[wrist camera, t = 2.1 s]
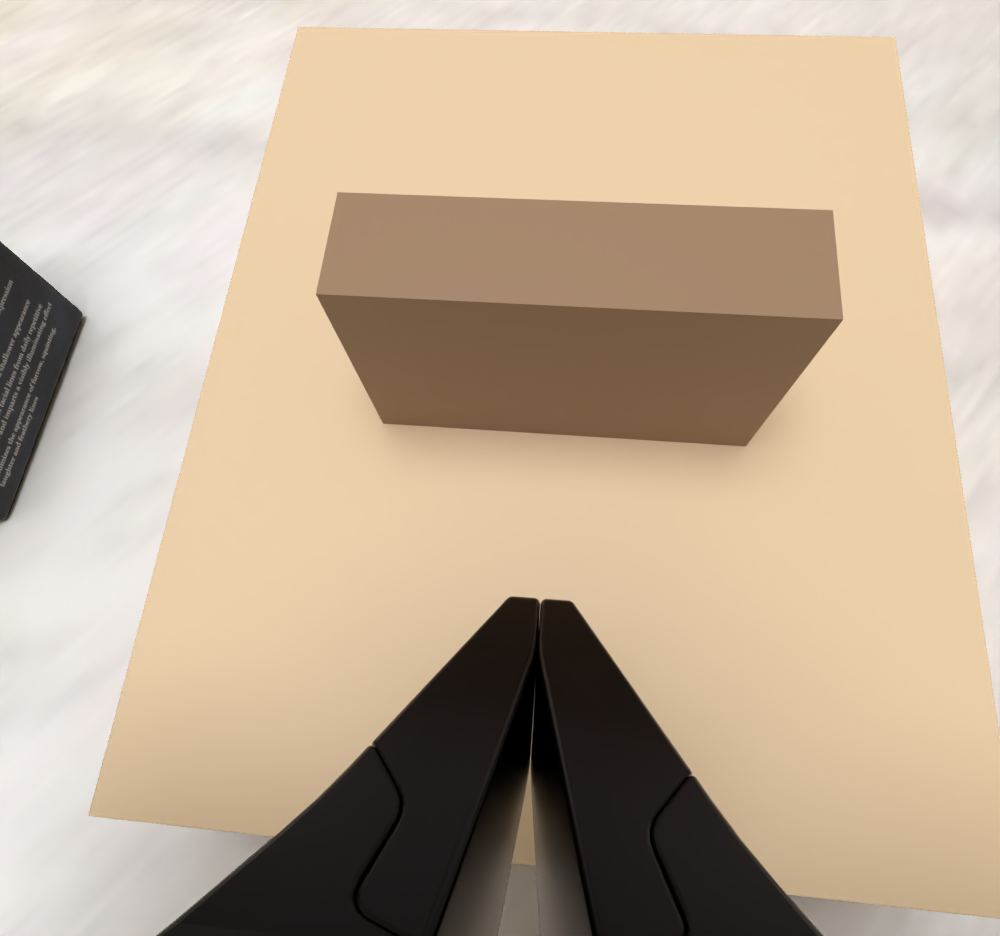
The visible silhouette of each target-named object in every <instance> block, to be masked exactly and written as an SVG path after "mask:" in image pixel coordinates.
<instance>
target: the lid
mask: <svg viewBox="0 0 1000 936" xmlns="http://www.w3.org/2000/svg"><path fill="white" fill-rule="evenodd" d="M511 596H516V597H529V598H537V599H538V600H539V602H540V604H541V602H542V600H544V599H556V600H569V601H571V602H573V603H574V604H575V606H576V607H577V609H578V610H579V611H580V613H581V614H582V616H583V617H584V619H585V620H586V621H587V623H588V624H589V626H590V627H591V629H592V630H593V631H594V633H595V634H596V636H597V637H598V638H599V640H600V641H601V643H602V644H603V646H604V647H605V648H606V650H607V651H608V653H609V654H610V656H611V657H612V658H613V660H614V661H615V663H616V664H617V666H618V667H619V668H620V670H621V671H622V673H623V674H624V676H625V677H626V678H627V680H628V681H629V683H630V684H631V686H632V687H633V688H634V690H635V691H636V693H637V694H638V696H639V697H640V698H641V700H642V701H643V703H644V704H645V706H646V707H647V708H648V710H649V711H650V713H651V714H652V716H653V717H654V718H655V720H656V721H657V723H658V724H659V726H660V727H661V728H662V730H663V731H664V733H665V734H666V736H667V737H668V738H669V740H670V741H671V743H672V744H673V746H674V747H675V748H676V750H677V751H678V753H679V754H680V756H681V757H682V758H683V760H684V761H685V763H686V764H687V766H688V767H689V768H690V770H691V772H692V776H695V777H696V778H697V779H698V781H699V782H700V784H701V785H702V787H703V788H704V790H705V791H706V792H707V794H708V795H709V797H710V798H711V800H712V801H713V802H714V804H715V805H716V806H717V808H718V809H719V810H720V812H721V813H722V815H723V816H724V817H725V819H726V820H727V821H728V823H729V824H730V825H731V827H732V828H733V829H734V831H735V832H736V833H737V835H738V836H739V837H740V839H741V840H742V841H743V842H744V844H745V845H746V846H747V847H748V848H749V850H750V851H751V852H752V853H753V854H754V856H755V857H756V858H757V859H758V860H759V862H760V863H761V864H762V865H763V867H764V868H765V869H766V870H767V871H768V873H769V874H770V875H771V876H772V877H773V879H774V880H775V881H776V882H777V883H778V885H779V886H780V887H781V888H782V889H783V890H784V891H785V893H786V894H787V895H795V896H804V897H812V898H821V899H830V900H839V901H848V902H857V903H866V904H875V905H883V906H892V907H901V908H910V909H919V910H928V911H937V912H946V913H954V914H963V915H972V916H981V917H990V918H999V919H1000V735H999V728H998V721H997V714H996V708H995V701H994V694H993V688H992V681H991V674H990V668H989V661H988V654H987V648H986V641H985V634H984V628H983V621H982V614H981V607H980V601H979V594H978V587H977V581H976V574H975V567H974V561H973V554H972V547H971V541H970V534H969V527H968V521H967V514H966V507H965V501H964V494H963V487H962V480H961V474H960V467H959V460H958V454H957V447H956V440H955V434H954V427H953V420H952V414H951V407H950V400H949V394H948V387H947V380H946V373H945V367H944V360H943V353H942V347H941V340H940V333H939V327H938V320H937V313H936V307H935V300H934V293H933V287H932V280H931V273H930V266H929V260H928V253H927V246H926V240H925V233H924V226H923V220H922V213H921V206H920V200H919V193H918V186H917V180H916V173H915V166H914V159H913V153H912V146H911V139H910V133H909V126H908V119H907V113H906V106H905V99H904V93H903V86H902V79H901V73H900V66H899V59H898V52H897V46H896V39H895V37H855V36H796V35H737V34H678V33H619V32H561V31H502V30H443V29H384V28H325V27H298V30H297V34H296V38H295V41H294V45H293V49H292V53H291V56H290V60H289V64H288V68H287V71H286V75H285V79H284V83H283V86H282V90H281V94H280V98H279V101H278V105H277V109H276V113H275V116H274V120H273V124H272V128H271V132H270V135H269V139H268V143H267V147H266V150H265V154H264V158H263V162H262V165H261V169H260V173H259V177H258V180H257V184H256V188H255V192H254V195H253V199H252V203H251V207H250V210H249V214H248V218H247V222H246V226H245V229H244V233H243V237H242V241H241V244H240V248H239V252H238V256H237V259H236V263H235V267H234V271H233V274H232V278H231V282H230V286H229V289H228V293H227V297H226V301H225V304H224V308H223V312H222V316H221V320H220V323H219V327H218V331H217V335H216V338H215V342H214V346H213V350H212V353H211V357H210V361H209V365H208V368H207V372H206V376H205V380H204V383H203V387H202V391H201V395H200V398H199V402H198V406H197V410H196V414H195V417H194V421H193V425H192V429H191V432H190V436H189V440H188V444H187V447H186V451H185V455H184V459H183V462H182V466H181V470H180V474H179V477H178V481H177V485H176V489H175V492H174V496H173V500H172V504H171V508H170V511H169V515H168V519H167V523H166V526H165V530H164V534H163V538H162V541H161V545H160V549H159V553H158V556H157V560H156V564H155V568H154V571H153V575H152V579H151V583H150V586H149V590H148V594H147V598H146V602H145V605H144V609H143V613H142V617H141V620H140V624H139V628H138V632H137V635H136V639H135V643H134V647H133V650H132V654H131V658H130V662H129V665H128V669H127V673H126V677H125V680H124V684H123V688H122V692H121V696H120V699H119V703H118V707H117V711H116V714H115V718H114V722H113V726H112V729H111V733H110V737H109V741H108V744H107V748H106V752H105V756H104V759H103V763H102V767H101V771H100V774H99V778H98V782H97V786H96V790H95V793H94V797H93V801H92V805H91V808H90V812H89V816H94V817H103V818H111V819H120V820H129V821H138V822H147V823H156V824H165V825H174V826H182V827H191V828H200V829H209V830H218V831H227V832H236V833H245V834H253V835H262V836H271V837H274V836H275V835H277V834H278V833H279V832H280V831H281V830H282V829H283V828H284V827H286V826H287V825H288V824H289V823H290V822H291V821H292V820H293V819H295V818H296V817H297V816H298V815H299V814H300V813H301V812H302V811H303V810H305V809H306V808H307V807H308V806H309V805H310V804H311V803H312V802H314V801H315V800H316V799H317V798H318V797H319V796H320V795H321V794H322V793H323V792H324V791H325V790H326V789H327V788H328V787H329V786H330V785H331V784H332V783H333V782H334V781H335V780H336V779H337V778H338V777H339V776H340V775H341V774H342V773H343V772H344V771H345V770H346V769H347V768H348V767H349V766H350V765H351V764H352V763H353V762H354V761H355V760H356V759H357V757H358V756H359V755H360V754H361V753H362V752H363V751H364V750H365V749H366V748H367V747H368V746H372V742H373V741H374V740H375V739H376V738H377V737H378V736H379V734H380V733H381V732H382V731H383V730H384V729H385V728H386V727H387V726H388V725H389V724H390V723H391V722H392V721H393V720H394V718H395V717H396V716H397V715H398V714H399V713H400V712H401V711H402V710H403V709H404V708H405V707H406V706H407V705H408V704H409V703H410V701H411V700H412V699H413V698H414V697H415V696H416V695H417V694H418V693H419V692H420V691H421V690H422V689H423V688H424V687H425V685H426V684H427V683H428V682H429V681H430V680H431V679H432V678H433V677H434V676H435V675H436V674H437V673H438V672H439V671H440V669H441V668H442V667H443V666H444V665H445V664H446V663H447V662H448V661H449V660H450V659H451V658H452V657H453V656H454V655H455V654H456V652H457V651H458V650H459V649H460V648H461V647H462V646H463V645H464V644H465V643H466V642H467V641H468V640H469V639H470V638H471V636H472V635H473V634H474V633H475V632H476V631H477V630H478V629H479V628H480V627H481V626H482V625H483V624H484V623H485V622H486V621H487V619H488V618H489V617H490V616H491V615H492V614H493V613H494V612H495V611H496V610H497V609H498V608H499V607H500V606H501V605H502V603H503V602H504V601H505V600H506V599H507V598H509V597H511ZM539 618H540V615H539ZM534 697H535V696H534ZM533 714H534V711H533ZM532 731H533V727H532ZM531 748H532V742H531ZM512 864H520V865H529V866H536V861H535V844H534V828H533V812H532V796H531V756H530V766H529V774H528V781H527V787H526V792H525V797H524V803H523V808H522V813H521V818H520V823H519V828H518V833H517V838H516V844H515V849H514V854H513V859H512Z"/></svg>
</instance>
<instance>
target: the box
mask: <svg viewBox="0 0 1000 936" xmlns="http://www.w3.org/2000/svg"><path fill="white" fill-rule="evenodd" d="M81 317H82V312H81V311H80V310H79V309H78V308H77V307H75V306H74V305H73V304H72V303H71V302H70V301H68V300H67V299H66V298H65V297H64V296H62V295H61V294H60V293H59V292H58V291H57V290H56V289H55V288H54V287H53V286H51V285H50V284H49V283H48V282H47V281H46V280H44V279H43V278H42V277H41V276H40V275H38V274H37V273H36V272H35V271H33V270H32V269H31V268H30V267H29V266H28V265H27V264H26V263H25V262H23V261H22V260H21V259H20V258H19V257H18V256H17V255H15V254H14V253H13V252H12V251H11V250H10V249H8V248H7V247H6V246H5V245H4V244H2V243H1V242H0V520H3V519H5V518H6V517H7V515H8V513H9V511H10V508H11V506H12V502H13V499H14V497H15V494H16V491H17V489H18V486H19V483H20V480H21V477H22V475H23V472H24V470H25V467H26V464H27V462H28V459H29V457H30V454H31V451H32V448H33V446H34V443H35V440H36V437H37V435H38V432H39V429H40V427H41V424H42V421H43V419H44V416H45V413H46V410H47V408H48V405H49V403H50V400H51V397H52V395H53V392H54V389H55V387H56V384H57V381H58V379H59V376H60V373H61V371H62V368H63V365H64V362H65V360H66V357H67V354H68V352H69V349H70V346H71V343H72V341H73V338H74V336H75V333H76V331H77V328H78V325H79V323H80V320H81Z"/></svg>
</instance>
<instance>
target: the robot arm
mask: <svg viewBox="0 0 1000 936" xmlns="http://www.w3.org/2000/svg"><path fill="white" fill-rule="evenodd" d="M539 615H540V618H539ZM534 696H535V697H534ZM533 711H534V714H533ZM532 727H533V731H532ZM531 742H532V748H531ZM530 756H531V796H532V812H533V828H534V844H535V861H536V877H537V893H538V909H539V925H540V936H823V935H822V934H821V933H820V932H819V930H818V929H817V928H816V927H815V926H814V925H813V924H812V922H811V921H810V920H809V919H808V918H807V917H806V916H805V914H804V913H803V912H802V911H801V910H800V909H799V908H798V906H797V905H796V904H795V903H794V902H793V901H792V899H791V898H790V897H789V896H788V895H787V894H786V893H785V891H784V890H783V889H782V888H781V887H780V886H779V885H778V883H777V882H776V881H775V880H774V879H773V877H772V876H771V875H770V874H769V873H768V871H767V870H766V869H765V868H764V867H763V865H762V864H761V863H760V862H759V860H758V859H757V858H756V857H755V856H754V854H753V853H752V852H751V851H750V850H749V848H748V847H747V846H746V845H745V844H744V842H743V841H742V840H741V839H740V837H739V836H738V835H737V833H736V832H735V831H734V829H733V828H732V827H731V825H730V824H729V823H728V821H727V820H726V819H725V817H724V816H723V815H722V813H721V812H720V810H719V809H718V808H717V806H716V805H715V804H714V802H713V801H712V800H711V798H710V797H709V795H708V794H707V792H706V791H705V790H704V788H703V787H702V785H701V784H700V782H699V781H698V779H697V778H696V777H695V776H692V772H691V770H690V768H689V767H688V766H687V764H686V763H685V761H684V760H683V758H682V757H681V756H680V754H679V753H678V751H677V750H676V748H675V747H674V746H673V744H672V743H671V741H670V740H669V738H668V737H667V736H666V734H665V733H664V731H663V730H662V728H661V727H660V726H659V724H658V723H657V721H656V720H655V718H654V717H653V716H652V714H651V713H650V711H649V710H648V708H647V707H646V706H645V704H644V703H643V701H642V700H641V698H640V697H639V696H638V694H637V693H636V691H635V690H634V688H633V687H632V686H631V684H630V683H629V681H628V680H627V678H626V677H625V676H624V674H623V673H622V671H621V670H620V668H619V667H618V666H617V664H616V663H615V661H614V660H613V658H612V657H611V656H610V654H609V653H608V651H607V650H606V648H605V647H604V646H603V644H602V643H601V641H600V640H599V638H598V637H597V636H596V634H595V633H594V631H593V630H592V629H591V627H590V626H589V624H588V623H587V621H586V620H585V619H584V617H583V616H582V614H581V613H580V611H579V610H578V609H577V607H576V606H575V604H574V603H573V602H571V601H569V600H556V599H544V600H542V602H541V604H540V602H539V600H538V599H537V598H529V597H516V596H511V597H509V598H507V599H506V600H505V601H504V602H503V603H502V605H501V606H500V607H499V608H498V609H497V610H496V611H495V612H494V613H493V614H492V615H491V616H490V617H489V618H488V619H487V621H486V622H485V623H484V624H483V625H482V626H481V627H480V628H479V629H478V630H477V631H476V632H475V633H474V634H473V635H472V636H471V638H470V639H469V640H468V641H467V642H466V643H465V644H464V645H463V646H462V647H461V648H460V649H459V650H458V651H457V652H456V654H455V655H454V656H453V657H452V658H451V659H450V660H449V661H448V662H447V663H446V664H445V665H444V666H443V667H442V668H441V669H440V671H439V672H438V673H437V674H436V675H435V676H434V677H433V678H432V679H431V680H430V681H429V682H428V683H427V684H426V685H425V687H424V688H423V689H422V690H421V691H420V692H419V693H418V694H417V695H416V696H415V697H414V698H413V699H412V700H411V701H410V703H409V704H408V705H407V706H406V707H405V708H404V709H403V710H402V711H401V712H400V713H399V714H398V715H397V716H396V717H395V718H394V720H393V721H392V722H391V723H390V724H389V725H388V726H387V727H386V728H385V729H384V730H383V731H382V732H381V733H380V734H379V736H378V737H377V738H376V739H375V740H374V741H373V742H372V746H368V747H367V748H366V749H365V750H364V751H363V752H362V753H361V754H360V755H359V756H358V757H357V759H356V760H355V761H354V762H353V763H352V764H351V765H350V766H349V767H348V768H347V769H346V770H345V771H344V772H343V773H342V774H341V775H340V776H339V777H338V778H337V779H336V780H335V781H334V782H333V783H332V784H331V785H330V786H329V787H328V788H327V789H326V790H325V791H324V792H323V793H322V794H321V795H320V796H319V797H318V798H317V799H316V800H315V801H314V802H312V803H311V804H310V805H309V806H308V807H307V808H306V809H305V810H303V811H302V812H301V813H300V814H299V815H298V816H297V817H296V818H295V819H293V820H292V821H291V822H290V823H289V824H288V825H287V826H286V827H284V828H283V829H282V830H281V831H280V832H279V833H278V834H277V835H275V836H274V837H273V838H272V839H271V840H269V841H268V842H267V843H266V844H265V845H264V846H262V847H261V848H260V849H259V850H258V851H256V852H255V853H254V854H253V855H252V856H251V857H249V858H248V859H247V860H246V861H245V862H244V863H242V864H241V865H240V866H239V867H238V868H236V869H235V870H234V871H233V872H232V873H231V874H229V875H228V876H227V877H226V878H225V879H223V880H222V881H221V882H220V883H219V884H218V885H216V886H215V887H214V888H213V889H212V890H211V891H209V892H208V893H207V894H206V895H205V896H203V897H202V898H201V899H200V900H199V901H198V902H196V903H195V904H194V905H193V906H192V907H190V908H189V909H188V910H187V911H186V912H185V913H183V914H182V915H181V916H180V917H179V918H178V919H176V920H175V921H174V922H173V923H171V924H170V925H169V926H168V927H166V928H165V929H164V930H163V931H161V932H160V933H159V934H158V935H156V936H498V931H499V926H500V920H501V915H502V910H503V905H504V900H505V895H506V890H507V885H508V879H509V874H510V869H511V864H512V859H513V854H514V849H515V844H516V838H517V833H518V828H519V823H520V818H521V813H522V808H523V803H524V797H525V792H526V787H527V781H528V774H529V766H530Z"/></svg>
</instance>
